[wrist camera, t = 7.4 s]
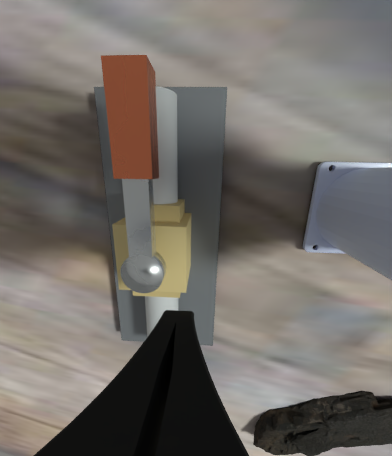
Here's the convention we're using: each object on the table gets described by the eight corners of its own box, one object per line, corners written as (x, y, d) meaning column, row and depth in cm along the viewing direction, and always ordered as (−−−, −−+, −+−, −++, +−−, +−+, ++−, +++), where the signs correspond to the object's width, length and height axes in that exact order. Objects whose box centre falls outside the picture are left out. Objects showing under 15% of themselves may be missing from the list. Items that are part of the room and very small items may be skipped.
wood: (434, 378, 23) (468, 408, 20) (429, 422, 25) (459, 456, 22) (244, 397, 25) (248, 427, 22) (252, 436, 27) (258, 468, 24)
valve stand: (225, 93, 15) (237, 43, 9) (212, 336, 22) (214, 398, 16) (102, 93, 16) (37, 44, 10) (126, 331, 23) (96, 390, 17)
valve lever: (167, 283, 13) (162, 296, 12) (129, 281, 13) (120, 294, 12) (160, 72, 10) (153, 54, 8) (110, 72, 10) (94, 55, 8)
